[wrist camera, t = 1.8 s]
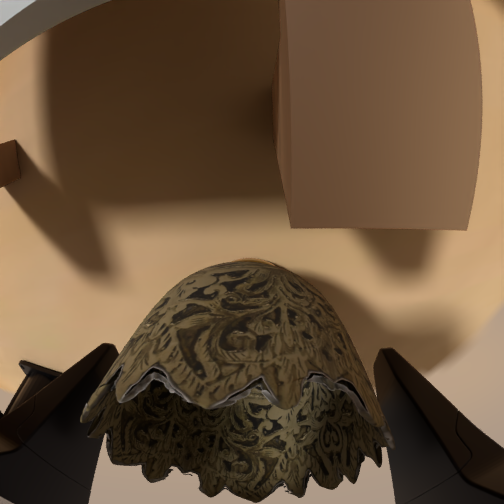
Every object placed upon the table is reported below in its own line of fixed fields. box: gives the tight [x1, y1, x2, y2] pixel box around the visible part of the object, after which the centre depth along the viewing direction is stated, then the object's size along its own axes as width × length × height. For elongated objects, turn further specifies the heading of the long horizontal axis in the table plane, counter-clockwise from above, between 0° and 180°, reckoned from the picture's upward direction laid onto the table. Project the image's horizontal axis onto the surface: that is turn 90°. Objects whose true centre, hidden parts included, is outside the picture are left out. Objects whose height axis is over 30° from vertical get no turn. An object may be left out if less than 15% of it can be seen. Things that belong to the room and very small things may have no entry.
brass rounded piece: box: [80, 258, 395, 503], centre depth 9 cm, size 8×7×8 cm
